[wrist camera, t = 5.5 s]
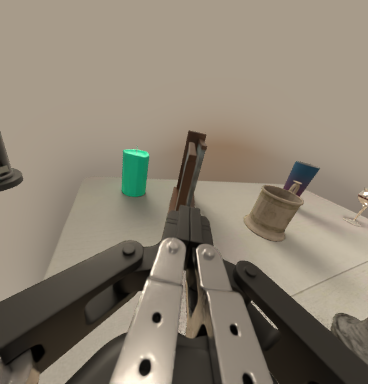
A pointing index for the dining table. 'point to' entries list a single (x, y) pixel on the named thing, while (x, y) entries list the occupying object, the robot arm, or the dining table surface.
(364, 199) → the wineglass
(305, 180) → the cup
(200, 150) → the screen frame
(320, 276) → the dining table surface
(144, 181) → the candle
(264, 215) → the mug
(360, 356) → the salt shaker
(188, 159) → the glass door
